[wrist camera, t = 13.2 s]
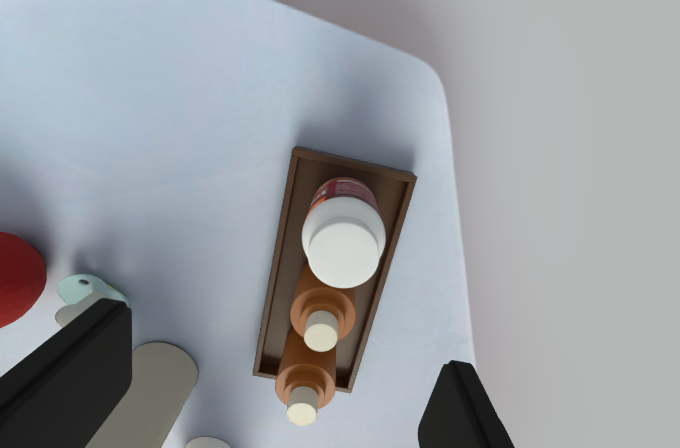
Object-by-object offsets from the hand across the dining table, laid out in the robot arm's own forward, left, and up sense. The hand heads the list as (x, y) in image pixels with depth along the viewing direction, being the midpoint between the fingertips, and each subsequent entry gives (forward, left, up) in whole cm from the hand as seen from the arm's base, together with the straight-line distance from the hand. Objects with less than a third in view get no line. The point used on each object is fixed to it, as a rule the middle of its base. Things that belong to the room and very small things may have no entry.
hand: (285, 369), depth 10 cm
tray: (+9, +2, -23) cm, 25 cm away
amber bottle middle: (+9, +2, -22) cm, 24 cm away
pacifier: (+17, -21, -23) cm, 36 cm away
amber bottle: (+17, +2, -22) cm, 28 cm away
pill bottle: (+1, +2, -23) cm, 23 cm away
